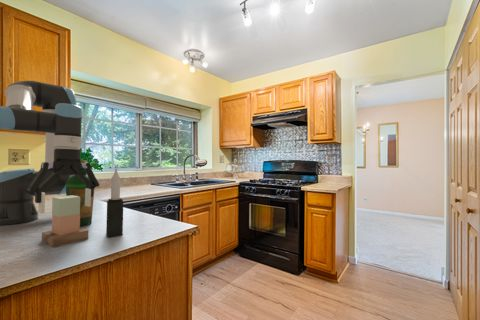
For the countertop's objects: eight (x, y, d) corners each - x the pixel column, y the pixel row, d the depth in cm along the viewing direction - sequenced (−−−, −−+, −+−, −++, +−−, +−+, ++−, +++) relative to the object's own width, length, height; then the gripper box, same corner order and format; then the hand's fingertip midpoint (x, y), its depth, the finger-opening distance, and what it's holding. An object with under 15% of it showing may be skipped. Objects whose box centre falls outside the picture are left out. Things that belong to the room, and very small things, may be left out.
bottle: (78, 229, 90) (80, 160, 90) (57, 226, 92) (59, 159, 93) (100, 222, 100) (102, 160, 101) (81, 220, 103) (82, 160, 103)
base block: (41, 241, 76) (41, 232, 76) (75, 233, 85) (75, 225, 85) (53, 247, 71) (53, 238, 71) (88, 238, 80) (88, 230, 80)
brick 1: (52, 214, 77) (52, 197, 77) (72, 211, 82) (72, 195, 82) (59, 217, 74) (59, 199, 74) (79, 213, 79) (80, 196, 79)
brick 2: (51, 232, 77) (52, 214, 77) (72, 227, 82) (72, 211, 82) (59, 235, 74) (59, 217, 74) (79, 230, 79) (80, 213, 79)
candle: (105, 233, 85) (107, 168, 85) (120, 231, 88) (122, 168, 88) (107, 237, 81) (109, 168, 81) (123, 235, 84) (124, 168, 84)
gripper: (23, 145, 66) (21, 217, 65) (109, 150, 87) (108, 204, 87) (15, 146, 70) (13, 214, 69) (99, 150, 91) (98, 202, 91)
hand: (66, 209), depth 78 cm, fingers open, 13 cm apart
